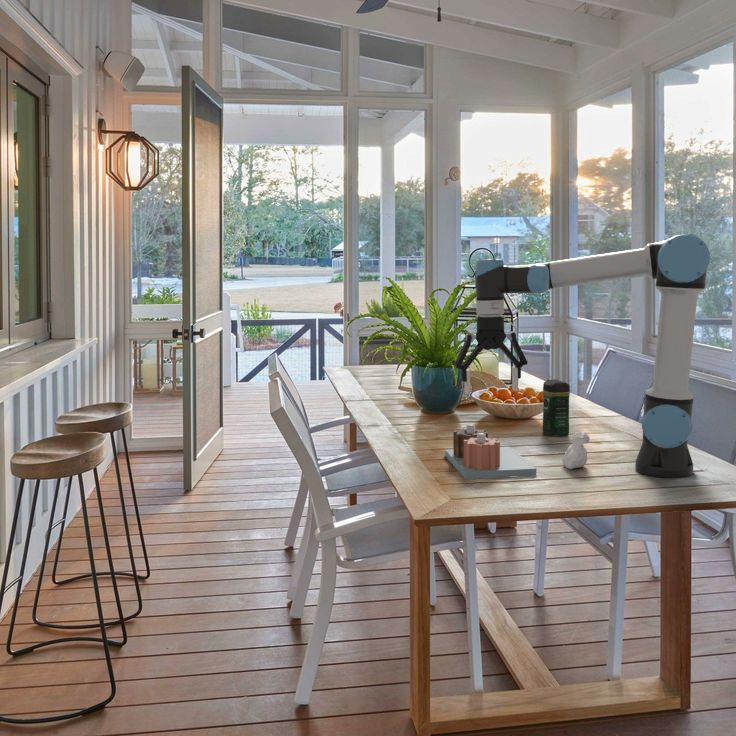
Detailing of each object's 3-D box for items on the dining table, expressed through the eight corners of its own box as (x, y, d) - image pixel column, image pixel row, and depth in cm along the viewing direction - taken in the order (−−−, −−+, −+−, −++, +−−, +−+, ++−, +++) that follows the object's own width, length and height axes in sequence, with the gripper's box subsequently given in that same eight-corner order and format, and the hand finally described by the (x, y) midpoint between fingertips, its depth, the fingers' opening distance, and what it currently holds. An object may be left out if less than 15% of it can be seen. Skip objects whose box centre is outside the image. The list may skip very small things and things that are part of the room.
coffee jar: (572, 436, 264) (573, 381, 261) (549, 437, 263) (550, 382, 260) (561, 430, 273) (562, 377, 271) (539, 431, 272) (539, 378, 270)
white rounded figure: (577, 479, 221) (603, 449, 219) (555, 463, 222) (581, 432, 219) (574, 468, 233) (599, 439, 230) (553, 452, 233) (578, 423, 231)
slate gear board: (536, 475, 218) (536, 436, 217) (465, 479, 216) (465, 439, 214) (508, 452, 244) (508, 417, 242) (445, 456, 242) (444, 420, 240)
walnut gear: (491, 458, 230) (491, 434, 229) (458, 460, 229) (458, 436, 228) (482, 450, 239) (482, 427, 238) (450, 451, 238) (450, 429, 237)
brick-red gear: (493, 460, 228) (493, 436, 227) (503, 469, 218) (503, 444, 217) (460, 461, 227) (460, 438, 226) (469, 470, 217) (468, 446, 216)
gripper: (449, 318, 212) (450, 396, 215) (538, 314, 215) (539, 391, 218) (442, 316, 219) (444, 392, 222) (529, 312, 223) (530, 387, 225)
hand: (491, 391), depth 220 cm, fingers open, 13 cm apart
